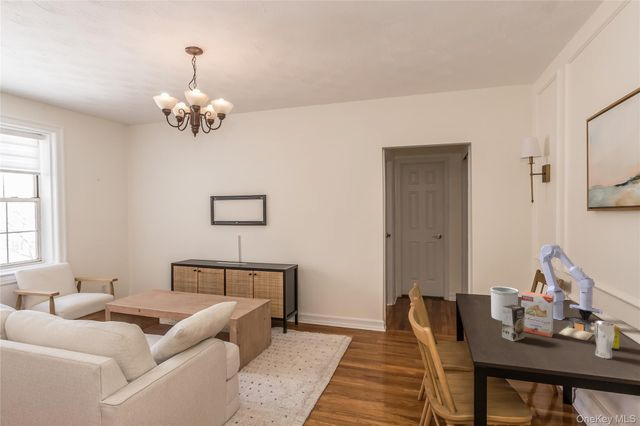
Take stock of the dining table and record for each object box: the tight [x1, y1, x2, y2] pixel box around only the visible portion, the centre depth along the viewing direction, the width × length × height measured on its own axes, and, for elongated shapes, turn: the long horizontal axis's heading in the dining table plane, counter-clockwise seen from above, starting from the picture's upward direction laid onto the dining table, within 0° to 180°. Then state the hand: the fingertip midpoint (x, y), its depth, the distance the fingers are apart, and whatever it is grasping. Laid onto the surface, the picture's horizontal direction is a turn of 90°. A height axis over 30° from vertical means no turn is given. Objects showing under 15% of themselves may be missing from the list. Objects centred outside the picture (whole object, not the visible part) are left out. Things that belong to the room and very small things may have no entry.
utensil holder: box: [490, 285, 519, 322], centre depth 201 cm, size 15×15×18 cm
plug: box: [574, 322, 585, 331], centre depth 186 cm, size 11×4×3 cm, turn 129°
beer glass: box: [594, 320, 615, 360], centre depth 151 cm, size 7×7×15 cm
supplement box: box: [612, 324, 620, 351], centre depth 161 cm, size 6×6×11 cm
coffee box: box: [501, 304, 525, 342], centre depth 171 cm, size 9×6×16 cm
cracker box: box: [520, 290, 554, 338], centre depth 178 cm, size 14×6×21 cm, turn 50°
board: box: [557, 322, 595, 342], centre depth 183 cm, size 12×34×1 cm, turn 129°
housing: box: [568, 317, 592, 332], centre depth 183 cm, size 9×4×5 cm, turn 39°
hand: (585, 323), depth 190 cm, fingers closed, pressing on plug
